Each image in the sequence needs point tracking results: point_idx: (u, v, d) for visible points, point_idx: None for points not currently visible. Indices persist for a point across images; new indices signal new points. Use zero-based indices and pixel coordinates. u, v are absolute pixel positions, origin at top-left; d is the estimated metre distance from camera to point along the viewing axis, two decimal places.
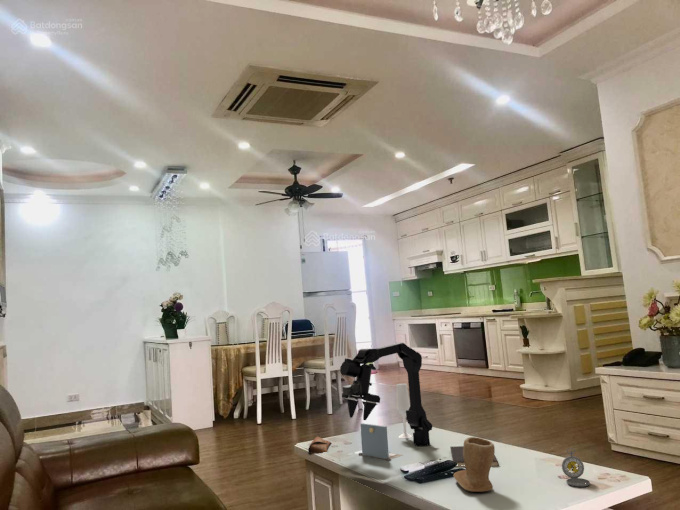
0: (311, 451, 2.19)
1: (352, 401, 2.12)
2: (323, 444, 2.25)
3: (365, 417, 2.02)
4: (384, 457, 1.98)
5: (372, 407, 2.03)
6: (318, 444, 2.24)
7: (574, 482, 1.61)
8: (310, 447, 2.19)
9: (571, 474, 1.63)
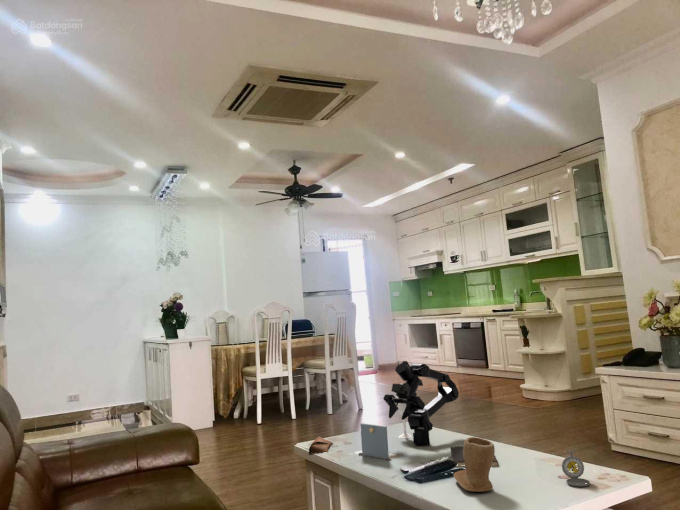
0: (312, 451, 2.19)
1: (394, 405, 2.20)
2: (324, 444, 2.25)
3: (404, 417, 2.11)
4: (384, 457, 1.98)
5: (412, 411, 2.14)
6: (319, 444, 2.24)
7: (574, 482, 1.61)
8: (311, 447, 2.19)
9: (571, 474, 1.63)
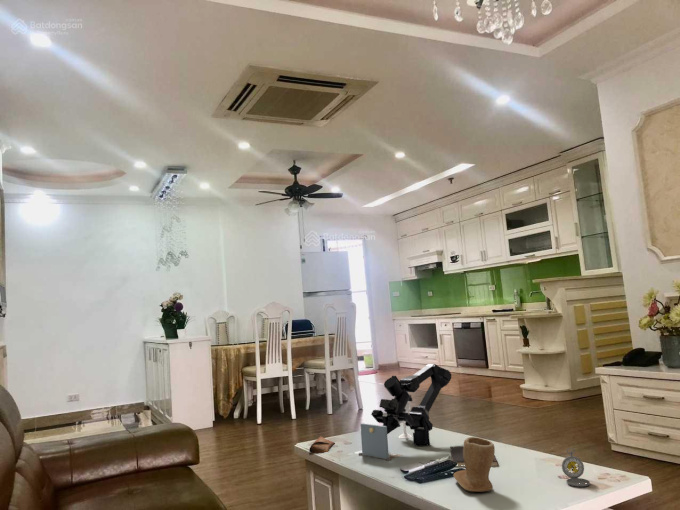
0: (312, 451, 2.19)
1: None
2: (325, 444, 2.24)
3: None
4: (384, 457, 1.98)
5: (394, 427, 2.09)
6: (320, 444, 2.24)
7: (574, 482, 1.61)
8: (311, 447, 2.19)
9: (571, 474, 1.63)
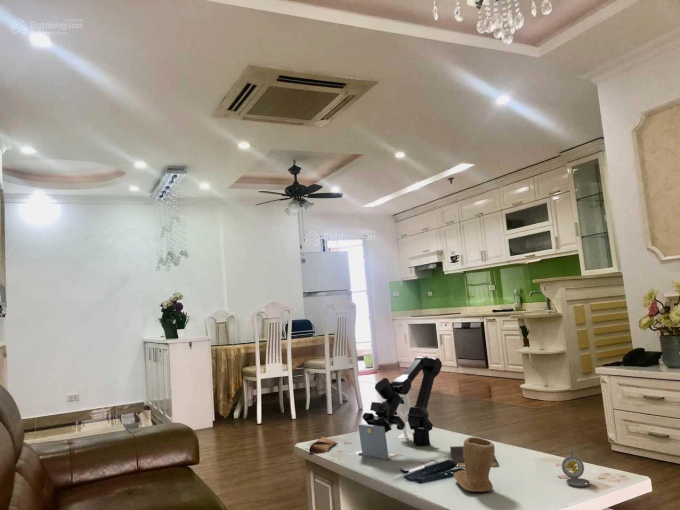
0: (312, 451, 2.19)
1: None
2: (326, 444, 2.24)
3: None
4: (384, 457, 1.98)
5: (385, 430, 2.06)
6: (321, 444, 2.24)
7: (574, 482, 1.61)
8: (311, 447, 2.20)
9: (571, 474, 1.63)
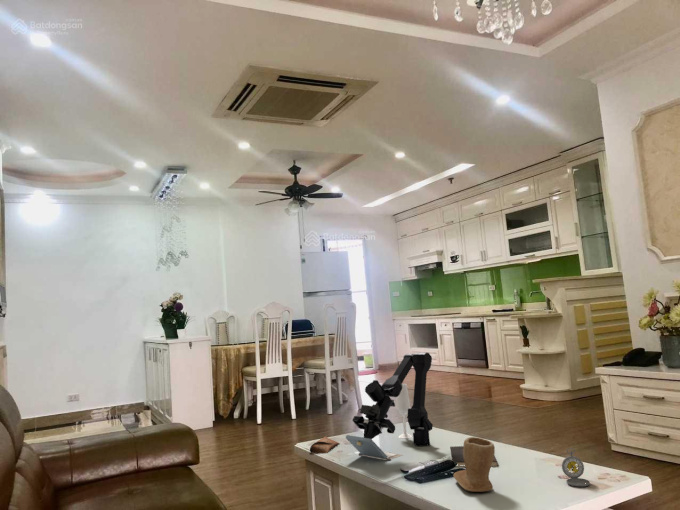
0: (313, 451, 2.19)
1: None
2: (327, 444, 2.24)
3: None
4: (383, 458, 1.98)
5: (375, 434, 2.01)
6: (321, 444, 2.23)
7: (574, 482, 1.61)
8: (312, 447, 2.20)
9: (571, 474, 1.63)
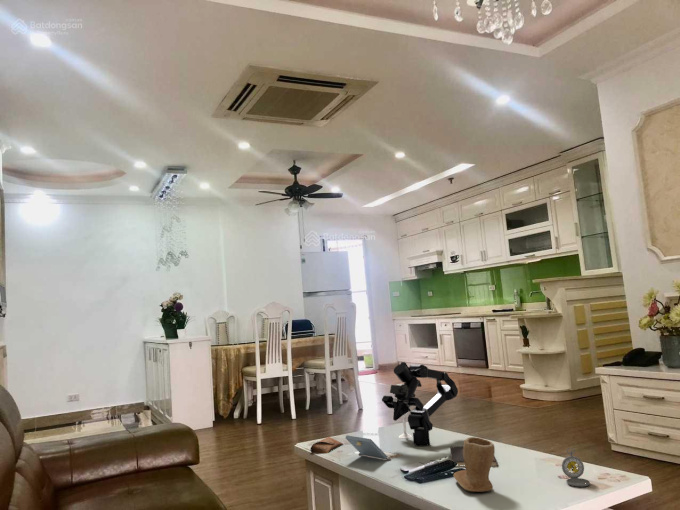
0: (313, 451, 2.19)
1: (399, 406, 2.17)
2: (328, 445, 2.23)
3: (396, 417, 2.13)
4: (383, 458, 1.98)
5: (405, 412, 2.15)
6: (323, 444, 2.23)
7: (574, 482, 1.61)
8: (312, 447, 2.20)
9: (571, 474, 1.63)
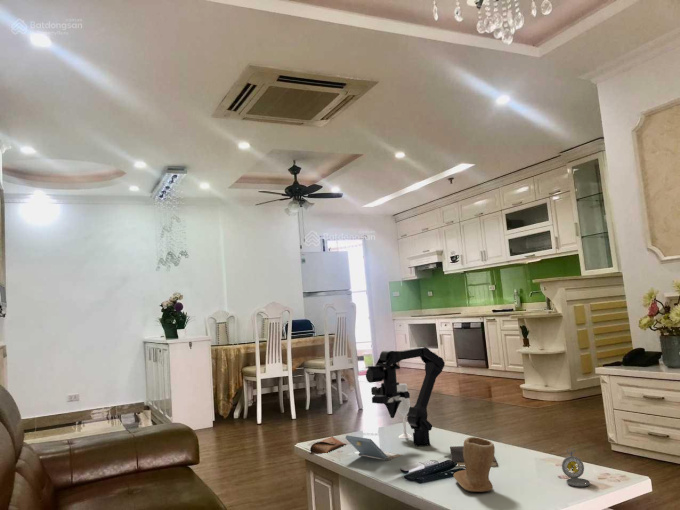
0: (313, 451, 2.20)
1: None
2: (328, 445, 2.23)
3: (391, 415, 2.18)
4: (383, 458, 1.98)
5: (391, 406, 2.16)
6: (323, 444, 2.23)
7: (574, 482, 1.61)
8: (312, 447, 2.20)
9: (571, 474, 1.63)
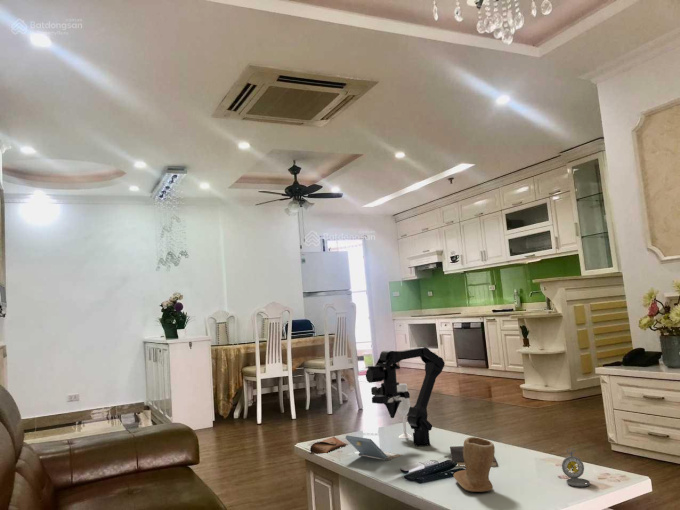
0: (313, 451, 2.20)
1: None
2: (329, 445, 2.22)
3: (391, 415, 2.18)
4: (383, 458, 1.98)
5: (391, 406, 2.16)
6: (323, 444, 2.23)
7: (574, 482, 1.61)
8: (312, 446, 2.20)
9: (571, 474, 1.63)
